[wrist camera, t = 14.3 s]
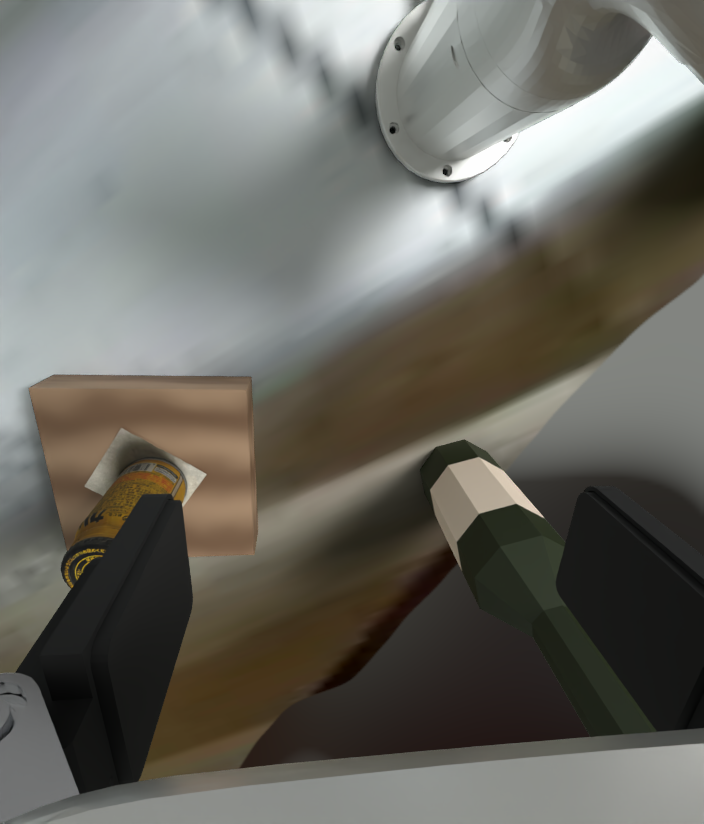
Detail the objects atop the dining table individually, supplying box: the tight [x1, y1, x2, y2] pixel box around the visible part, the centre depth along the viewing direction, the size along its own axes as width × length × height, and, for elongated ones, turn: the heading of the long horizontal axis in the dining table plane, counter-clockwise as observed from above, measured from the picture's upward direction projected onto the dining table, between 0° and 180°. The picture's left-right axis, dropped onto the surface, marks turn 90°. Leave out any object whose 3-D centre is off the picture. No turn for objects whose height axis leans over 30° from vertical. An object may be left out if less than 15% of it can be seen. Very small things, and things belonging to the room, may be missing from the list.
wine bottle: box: [420, 440, 657, 737], centre depth 35 cm, size 8×8×30 cm
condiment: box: [61, 428, 207, 589], centre depth 35 cm, size 7×8×12 cm
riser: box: [29, 375, 258, 557], centre depth 43 cm, size 18×18×4 cm
